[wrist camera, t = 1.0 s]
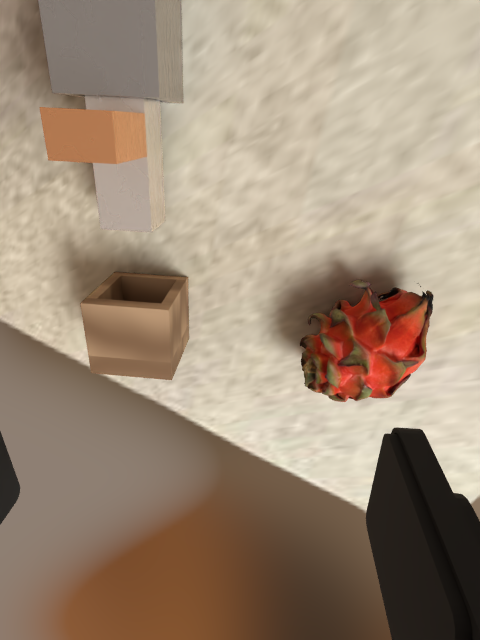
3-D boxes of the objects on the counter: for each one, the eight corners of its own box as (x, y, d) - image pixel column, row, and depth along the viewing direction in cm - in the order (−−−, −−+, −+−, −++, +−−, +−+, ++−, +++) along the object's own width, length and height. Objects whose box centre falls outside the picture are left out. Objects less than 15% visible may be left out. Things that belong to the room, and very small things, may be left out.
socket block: (114, 272, 33) (80, 303, 28) (187, 277, 33) (168, 310, 27) (121, 332, 36) (91, 372, 30) (189, 338, 36) (171, 380, 30)
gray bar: (80, -185, 20) (-43, -378, 13) (147, -185, 20) (65, -380, 12) (119, 217, 30) (63, 250, 22) (165, 220, 30) (125, 254, 22)
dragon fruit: (288, 349, 37) (393, 268, 35) (344, 425, 35) (462, 343, 32) (260, 344, 29) (392, 238, 27) (330, 442, 27) (484, 335, 24)
